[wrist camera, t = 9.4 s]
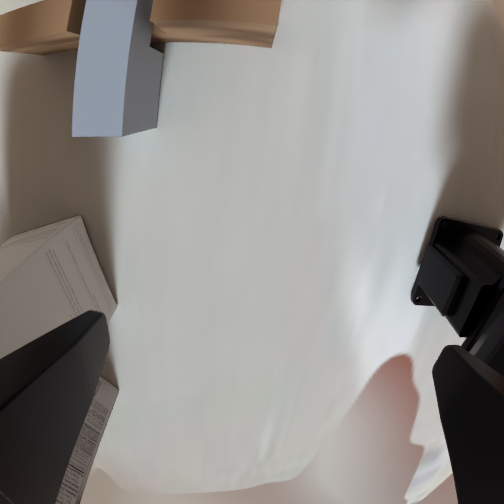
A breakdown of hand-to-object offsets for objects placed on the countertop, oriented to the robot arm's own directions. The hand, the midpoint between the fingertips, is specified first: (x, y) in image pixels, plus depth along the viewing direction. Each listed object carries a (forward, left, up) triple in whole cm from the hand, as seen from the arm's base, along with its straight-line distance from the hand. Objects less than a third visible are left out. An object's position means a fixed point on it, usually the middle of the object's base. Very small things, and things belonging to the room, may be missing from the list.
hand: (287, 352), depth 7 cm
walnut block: (+8, -10, -12) cm, 17 cm away
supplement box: (+14, +6, -12) cm, 20 cm away
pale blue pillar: (+8, -10, -12) cm, 17 cm away
